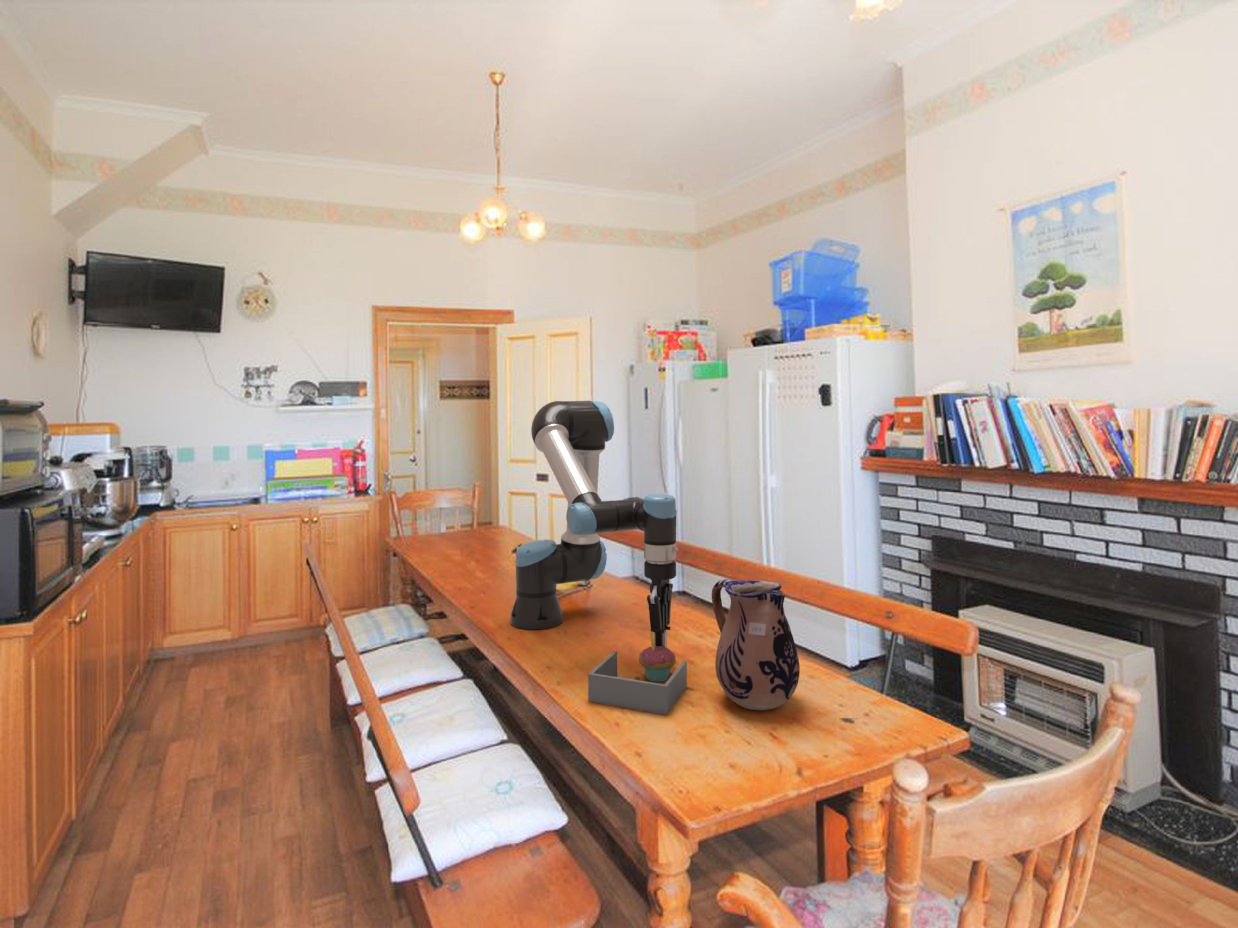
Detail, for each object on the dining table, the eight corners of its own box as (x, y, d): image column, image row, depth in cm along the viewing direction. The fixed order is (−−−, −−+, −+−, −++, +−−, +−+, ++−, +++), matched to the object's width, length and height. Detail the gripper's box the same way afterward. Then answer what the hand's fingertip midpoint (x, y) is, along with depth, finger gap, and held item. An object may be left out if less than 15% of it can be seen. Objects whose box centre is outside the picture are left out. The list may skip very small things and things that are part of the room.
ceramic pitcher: (773, 729, 131) (775, 603, 129) (685, 698, 145) (685, 584, 143) (813, 700, 144) (816, 585, 142) (729, 674, 158) (730, 569, 156)
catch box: (588, 701, 144) (588, 674, 143) (614, 675, 157) (614, 650, 157) (667, 714, 137) (667, 686, 137) (686, 687, 151) (687, 661, 150)
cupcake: (656, 688, 150) (656, 636, 149) (631, 676, 157) (631, 626, 156) (683, 678, 156) (683, 627, 155) (658, 667, 162) (658, 618, 161)
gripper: (667, 567, 151) (667, 669, 153) (683, 555, 163) (683, 650, 165) (635, 565, 154) (636, 665, 156) (653, 553, 166) (654, 646, 168)
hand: (660, 657), depth 161 cm, fingers closed
